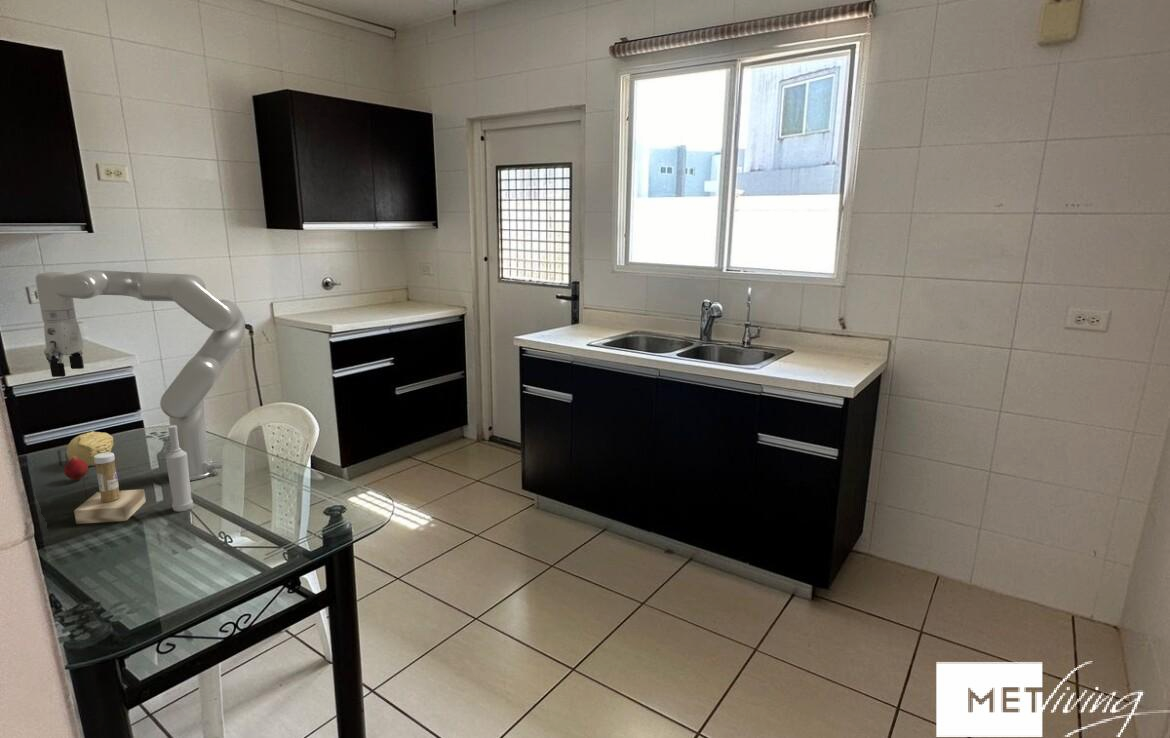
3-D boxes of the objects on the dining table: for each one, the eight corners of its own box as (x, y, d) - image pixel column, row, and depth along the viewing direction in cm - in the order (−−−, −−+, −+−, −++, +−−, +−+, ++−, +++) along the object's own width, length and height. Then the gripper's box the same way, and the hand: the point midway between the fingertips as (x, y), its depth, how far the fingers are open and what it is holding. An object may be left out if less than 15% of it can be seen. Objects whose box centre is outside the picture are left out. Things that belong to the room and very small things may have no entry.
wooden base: (145, 501, 183) (144, 489, 182) (126, 520, 172) (124, 507, 171) (99, 504, 181) (97, 491, 180) (76, 524, 169) (74, 510, 168)
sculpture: (96, 470, 204) (91, 439, 202) (60, 468, 204) (54, 438, 202) (122, 457, 215) (117, 427, 213) (88, 456, 215) (83, 426, 213)
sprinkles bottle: (120, 500, 175) (113, 455, 172) (99, 503, 172) (92, 458, 169) (121, 494, 179) (114, 450, 176) (101, 497, 176) (94, 453, 173)
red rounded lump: (79, 484, 193) (75, 460, 191) (61, 483, 193) (56, 459, 192) (94, 476, 199) (90, 453, 197) (76, 476, 199) (72, 452, 197)
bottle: (197, 506, 182) (187, 425, 176) (180, 513, 177) (169, 430, 171) (186, 502, 184) (175, 422, 178) (168, 509, 179) (157, 427, 173)
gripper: (56, 320, 173) (66, 379, 177) (89, 311, 189) (98, 365, 193) (24, 320, 171) (35, 380, 175) (61, 311, 187) (70, 366, 191)
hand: (68, 372), depth 184 cm, fingers open, 9 cm apart
